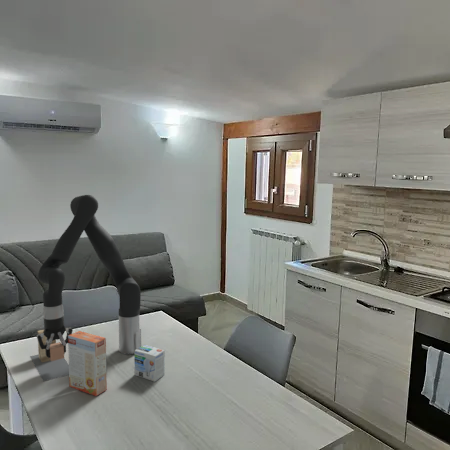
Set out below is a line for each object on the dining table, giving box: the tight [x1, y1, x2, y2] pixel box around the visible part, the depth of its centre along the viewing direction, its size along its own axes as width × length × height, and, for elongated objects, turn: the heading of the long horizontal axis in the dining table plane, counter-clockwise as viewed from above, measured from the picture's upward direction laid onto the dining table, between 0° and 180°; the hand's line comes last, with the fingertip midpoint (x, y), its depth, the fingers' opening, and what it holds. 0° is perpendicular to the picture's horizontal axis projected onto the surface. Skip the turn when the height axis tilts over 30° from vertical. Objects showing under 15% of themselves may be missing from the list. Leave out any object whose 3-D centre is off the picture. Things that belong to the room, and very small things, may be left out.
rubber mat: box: [29, 353, 69, 382], centre depth 181 cm, size 26×12×1 cm, turn 35°
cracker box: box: [67, 330, 108, 397], centre depth 162 cm, size 14×6×21 cm, turn 62°
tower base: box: [37, 344, 51, 362], centre depth 186 cm, size 6×6×6 cm
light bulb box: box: [133, 344, 166, 382], centre depth 174 cm, size 11×7×11 cm, turn 62°
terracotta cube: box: [49, 341, 65, 361], centre depth 175 cm, size 5×5×5 cm
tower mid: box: [37, 329, 57, 348], centre depth 186 cm, size 6×6×6 cm
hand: (56, 355), depth 175 cm, fingers closed on terracotta cube, 5 cm apart
